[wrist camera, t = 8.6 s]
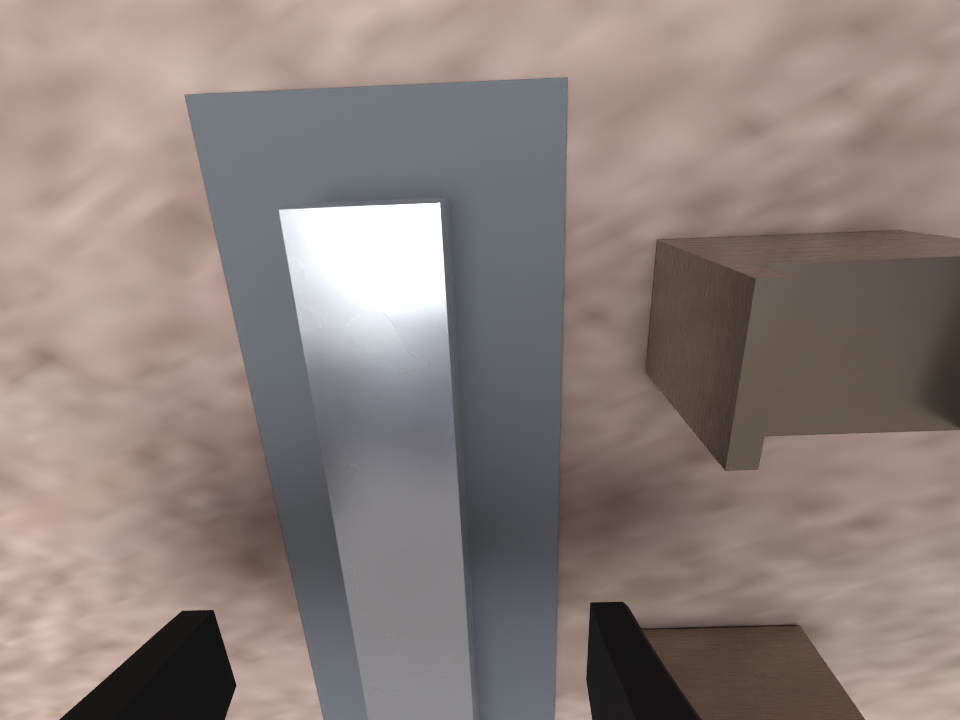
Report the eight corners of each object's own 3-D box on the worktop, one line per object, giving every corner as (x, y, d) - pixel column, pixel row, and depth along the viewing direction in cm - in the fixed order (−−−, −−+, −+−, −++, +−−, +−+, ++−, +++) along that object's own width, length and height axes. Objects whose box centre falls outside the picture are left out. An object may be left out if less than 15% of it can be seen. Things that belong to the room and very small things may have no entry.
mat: (564, 81, 9) (567, 77, 9) (551, 765, 16) (552, 779, 16) (196, 97, 9) (184, 94, 9) (341, 770, 17) (337, 784, 16)
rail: (448, 196, 10) (439, 203, 8) (480, 739, 15) (480, 826, 13) (321, 201, 10) (278, 209, 8) (399, 740, 15) (387, 828, 13)
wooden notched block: (900, 229, 10) (1139, 263, 7) (865, 365, 11) (1054, 460, 8) (657, 239, 10) (755, 278, 7) (645, 373, 11) (725, 471, 8)
